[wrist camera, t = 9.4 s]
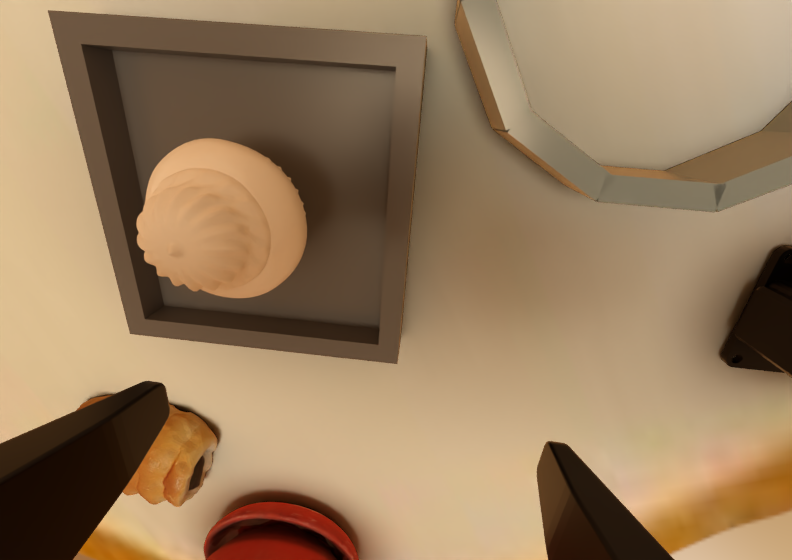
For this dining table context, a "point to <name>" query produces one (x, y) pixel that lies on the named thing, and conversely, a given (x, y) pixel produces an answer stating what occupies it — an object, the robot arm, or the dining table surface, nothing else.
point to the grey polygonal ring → (673, 188)
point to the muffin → (222, 220)
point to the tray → (272, 137)
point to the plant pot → (277, 535)
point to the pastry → (173, 459)
